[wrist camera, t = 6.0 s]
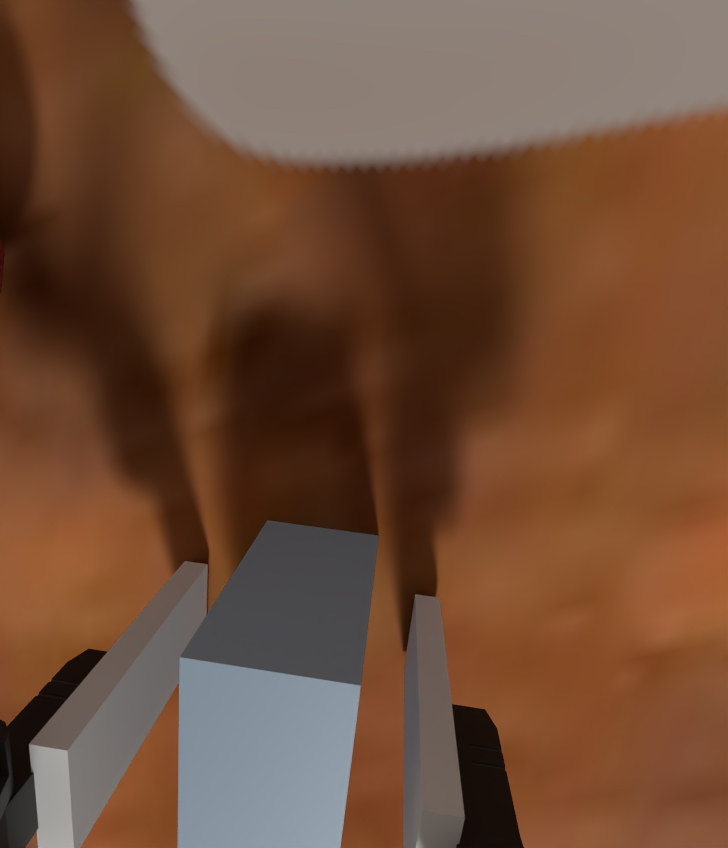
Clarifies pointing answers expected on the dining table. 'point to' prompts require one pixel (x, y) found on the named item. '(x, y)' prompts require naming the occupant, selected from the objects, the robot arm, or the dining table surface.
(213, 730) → the blue-gray block
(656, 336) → the dining table surface
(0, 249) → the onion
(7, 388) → the dining table surface
